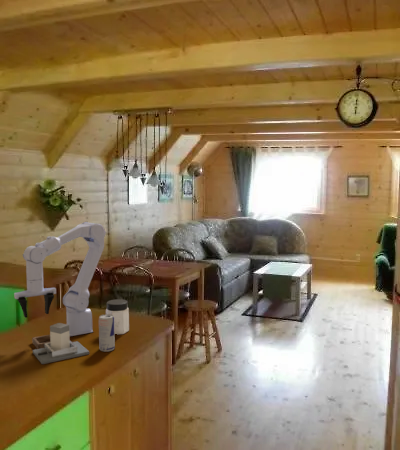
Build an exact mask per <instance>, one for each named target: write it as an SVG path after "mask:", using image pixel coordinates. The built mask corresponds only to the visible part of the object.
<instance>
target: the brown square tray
mask: <svg viewBox="0 0 400 450" xmlns="http://www.w3.org/2000/svg"><path fill="white" fill-rule="evenodd" d="M31 341H32V345H33V346H34V347H35V349H41V348H44V343H50V334H46V335H41V336H40V335H39V336H35V337H32V340H31Z"/></svg>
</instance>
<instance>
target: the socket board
mask: <svg viewBox="0 0 400 450" xmlns="http://www.w3.org/2000/svg"><path fill="white" fill-rule="evenodd" d="M43 343H44V342H43ZM32 354H33V355H34V357H35V358H36V359H37V360H38V361H39V362H40V364H41V365H45V364H49V363H55V362H60V361H63V360H68V359H73V358H79V357H82V356H87V355H90V351H89V350H88V349H87V348H86V347H84V346H83V344H81V343H80V342H79V341H71V340H70V348H65V349H60V350H55V351H54V350H53V349H52V348H51V342H50V343H44V348H41V349H37V348H35V349H32Z"/></svg>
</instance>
